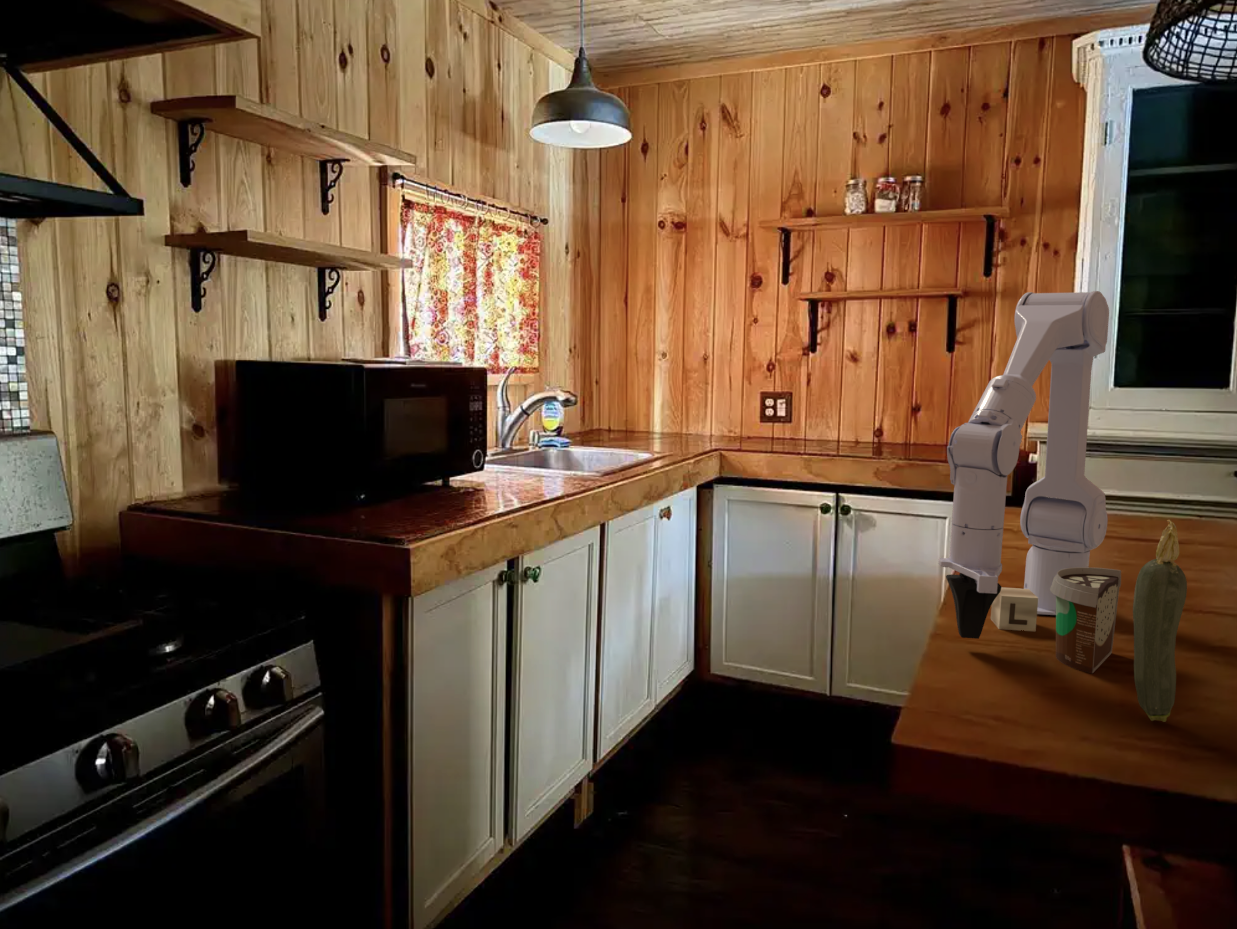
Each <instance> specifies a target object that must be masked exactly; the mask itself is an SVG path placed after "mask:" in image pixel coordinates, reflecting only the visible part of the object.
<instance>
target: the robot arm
mask: <svg viewBox="0 0 1237 929" xmlns="http://www.w3.org/2000/svg"><path fill="white" fill-rule="evenodd" d="M1107 302H1108V301H1107V299H1106V297H1105V296H1104V295H1103V293H1102V292H1100V291H1099V290H1093V291H1088V292H1086V291H1085V292H1084V291H1082V292H1080V291H1079V292H1041V293H1040V292H1039V293H1037V292H1031V291H1030V292H1029V291H1028V292H1026V293H1024V294H1023V295H1022V296H1021V297H1020V299H1019V300H1018V301H1017V304H1016V306H1015V312H1014V328H1015V335H1016V341H1015V344H1014V346H1013V348H1012V352H1011V354H1010V356H1009V359H1008V362H1007V364H1006V366H1005V369H1004V372H1003V374H1002V375H1001V374H1000V375H997V376H994V377H993V378H992V379H990V380H989V382H988V384H987V385H986V388H985V390H984V391H983V393H982V395H981V397H980V399H979V401H978V403H977V405H976V406H975V408H974V410H973V412H972V414H971V416H970V417H969V419H968V422H964V423H963V424H961V425H960V426H957V427H956V428H954V430H953V431H952V432H951V434H950V436H949V437H950V438H949V440H948V441H949V442H948V445H947V446H946V455H947V456H946V457H947V462H948V466H949V470H950V471H949V472H950V473H949V476H950V477H949V480H950V484H951V485H953V486H954V488H953V502H952V516H951V528H950V529H951V532H950V541H949V542H950V545H949V557H939V558H938V563H937V564H938V565H939V566H940V568H941V567H942V568H949V569H951V570H954V571H956V572H958V573H959V574H946V575H945V580H946V581H947V583H948V585H949V588H950V591H951V594H952V598H953V603H954V609H955V615H956V616H955V617H956V619H955V620H956V625H957V630H958V634H959V636H960V637H961V638H962V639H980V636H981V635H982V632H983V629H984V626H985V623H986V620H987V617H988V613H989V611H990V610H991V608H992V603H993V601H994V600H995V598H996V597H997V596H998V594H999V593H1000V591H1001V587H1002V585H1001V584H1000V583H999V576H1000V574H1001V573H1002V571H1003V570H1002V569H1003V564H1002V563H1001V562H1002V551H1003V550H1002V548H1003V536H1004V525H1005V524H1004V523H1005V512H1006V511H1005V510H1006V497H1007V487H1008V486H1007V484H1008V475H1010V474H1011V473H1012V472H1013V471H1014V469H1015V468H1016V466H1017V463H1018V459H1019V453H1020V448H1021V447H1020V446H1021V443H1022V439H1023V435H1022V433H1021V432H1022V429H1023V427H1024V425H1025V423H1026V421H1027V419H1028V417H1029V415H1030V414H1031V411H1032V409H1033V407H1034V405H1035V403H1036V400H1037V394H1036V391H1035V389H1034V388H1033V386H1034V385H1035V382H1036V381H1037V379H1038V378H1039V377H1040V375H1041V373H1042V372H1043V370H1044V369H1045V367H1046V365H1047V364H1048V362H1049V363H1051V369H1050V385H1049V386H1050V387H1049V402H1048V403H1049V404H1048V417H1047V418H1048V421H1047V434H1046V436H1047V438H1046V452H1045V470H1044V476H1043V477H1041V478H1040V479H1038V480H1036V481H1035V482H1033V483H1032V484H1030V485H1029V486H1028V487H1027V489H1026V491H1025V495H1024V496H1025V497H1024V501H1023V504H1022V508H1021V511H1020V512H1021V513H1020V518H1019V519H1020V522H1019V523H1020V524H1019V525H1020V529H1021V532H1022V534H1023V535H1024V537H1025V538H1027V539H1028V540H1027V541H1028V543H1027V544H1028V545H1032V546H1030V548H1029V550H1028V551H1027V554H1026V559H1025V569H1024V571H1025V572H1024V583H1023V584H1024V585H1023V589H1029V590H1030V591H1031V592H1032V593H1033V594H1035V595H1036V596H1037V597H1038V608H1037V615H1047V616H1048V615H1050V616H1056V595H1054V594H1053V593H1052V592H1051V591H1050V588H1051V585H1052V582H1053V579H1054V577H1055V576H1056V575H1057V572H1058V571H1059V570H1062V569H1066V568H1076V567H1089V566H1090V557H1091V556H1090V554H1091V551H1093V550H1094V549H1096V548H1098V547H1099V546H1100V545H1101V544H1102V543H1103V541H1104V539H1105V537H1106V534H1107V529H1108V512H1107V507H1106V505H1107V504H1106V503H1107V502H1106V499H1107V498H1106V493H1105V492H1104V491H1103V490H1102V489H1101V488H1099V487H1098V486H1097V485H1096V484H1094V483H1093V482H1092V481H1091V480H1089V479H1088V478H1087V476H1086V475H1085V472H1086V471H1085V470H1086V469H1085V468H1086V456H1087V444H1088V443H1087V442H1088V441H1087V439H1088V429H1089V428H1088V425H1089V415H1090V411H1089V410H1090V396H1091V381H1092V369H1093V361H1094V358H1095V357H1096V356H1099V355H1101V354H1104V353H1105V352H1106V348H1107V346H1106V345H1107V343H1108V334H1109V333H1108V332H1109V320H1110V308H1109V305H1108V303H1107Z"/></svg>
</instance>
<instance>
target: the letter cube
mask: <svg viewBox="0 0 1237 929" xmlns="http://www.w3.org/2000/svg"><path fill="white" fill-rule="evenodd" d="M1037 608H1038V597H1037V596H1036V595H1035V594H1033V593H1032V592H1031V591H1030V590H1029V589H1024V588H1018V587H1017V588H1016V587H1002V586H1001V591H1000V593H999V594H998V596H997V597H996V598H995V600H994V601H993V603H992V605H991V607H990V620H991V621H992V622H993V624H994V626H996V628H997V629H998V630H1006V631H1008V630H1009V631H1011V630H1012V631H1021V630H1022V631H1023V630H1024V631H1025V632H1036V631H1037V619H1038V614H1037ZM1024 631H1023V632H1024Z"/></svg>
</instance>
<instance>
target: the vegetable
mask: <svg viewBox="0 0 1237 929" xmlns="http://www.w3.org/2000/svg"><path fill="white" fill-rule="evenodd" d="M1166 522H1167V526H1166V527H1165V529H1163V530H1162V532H1161V536H1160V538H1159V539H1160V540H1159V542H1158V544H1157V546H1156V551H1155V557H1156V558H1154V559H1151V560H1149V561H1148V562H1146V563H1145V564H1144V565H1143V566H1142V567H1141V568H1140V570H1139V573H1138V574H1137V578H1136V582H1135V586H1134V593H1133V594H1134V595H1133V603H1132V604H1133V605H1132V618H1133V619H1132V620H1133V652H1134V653H1133V654H1134V656H1133V658H1134V659H1133V676H1134V684H1135V689H1136V696H1137V701H1138V704H1139V706H1140V708H1141V709H1142V710H1143V711H1144V712H1145V714H1146V715H1147V717H1148V719H1149V720H1150V721H1151V722H1153V721H1162V722H1163V723H1164V722H1167V720H1168V718H1169V717H1170V715H1171V710H1172V709H1173V706H1174V705H1175V699H1176V688H1177V668H1176V659H1175V658H1176V655H1175V654H1176V653H1175V651H1176V641H1177V640H1176V638H1177V633H1178V630H1179V626H1180V621H1181V617H1182V614H1183V610H1184V608H1185V607H1184V606H1185V603H1186V598H1187V594H1188V593H1187V592H1188V582H1187V578H1186V575H1185V573H1184V570H1183V569H1182V568H1181V567H1180V565H1178V564H1177V563H1176V562H1175V561H1176V560H1177V559H1178V557H1179V555H1180V545H1179V544H1180V543H1179V538H1178V530H1177V529H1178V528H1177V525H1176V524H1175V523H1174V522H1173V520H1171V519H1167V520H1166Z"/></svg>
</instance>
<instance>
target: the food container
mask: <svg viewBox="0 0 1237 929" xmlns="http://www.w3.org/2000/svg"><path fill="white" fill-rule="evenodd" d="M1121 585H1122V570H1120V569H1113V568H1103V567H1076V568H1066V569H1062V570H1059V571H1058V572H1057V575H1056V576H1055V577H1054V579H1053V582H1052V585H1051V588H1050V591H1051V592H1052V593H1053V594H1054V595H1056V615H1055V658H1056V659H1057V661H1059V663H1062V664H1063V665H1065V666H1068V667H1070V668H1072V669H1074V670H1079V671H1081V672H1085V673H1089V674H1093V673H1094V672H1095V671H1097V670H1098V669H1099V667H1100V666H1102V664H1103V663H1104V662H1105V661H1106V660H1107V659H1108V657H1109V656H1111V654H1112V653H1113V646H1114V636H1115V626H1116V620H1117V619H1116V618H1117V611H1118V602H1119V596H1120V595H1119V594H1120V588H1121V587H1122V586H1121Z"/></svg>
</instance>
